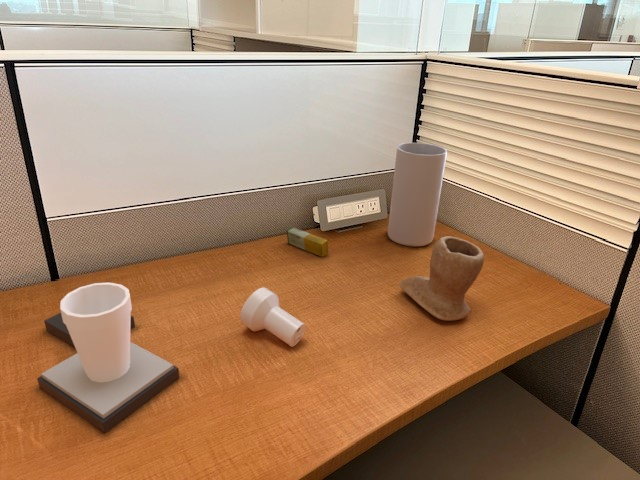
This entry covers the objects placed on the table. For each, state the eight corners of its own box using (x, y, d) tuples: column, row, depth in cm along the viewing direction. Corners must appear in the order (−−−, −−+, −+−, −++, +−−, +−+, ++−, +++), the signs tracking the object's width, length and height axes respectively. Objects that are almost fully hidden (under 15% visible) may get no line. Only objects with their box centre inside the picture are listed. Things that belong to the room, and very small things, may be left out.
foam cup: (61, 382, 73) (44, 310, 67) (100, 345, 81) (88, 278, 75) (117, 395, 71) (104, 322, 65) (151, 356, 79) (142, 288, 73)
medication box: (286, 243, 126) (285, 230, 124) (293, 239, 128) (292, 226, 126) (322, 257, 119) (321, 243, 117) (328, 253, 121) (328, 239, 119)
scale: (39, 388, 75) (35, 374, 74) (116, 342, 86) (113, 329, 85) (104, 433, 68) (101, 418, 67) (179, 377, 79) (178, 363, 77)
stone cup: (485, 317, 98) (500, 252, 92) (437, 329, 94) (449, 261, 87) (440, 282, 111) (450, 222, 104) (396, 291, 106) (404, 229, 100)
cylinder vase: (423, 252, 125) (437, 158, 114) (379, 239, 130) (389, 149, 120) (439, 235, 134) (453, 148, 124) (397, 225, 140) (408, 140, 129)
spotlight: (265, 306, 96) (266, 278, 91) (310, 336, 92) (314, 308, 86) (237, 330, 91) (237, 302, 86) (283, 363, 86) (285, 335, 81)
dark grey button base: (46, 331, 88) (42, 313, 86) (95, 306, 96) (91, 289, 94) (87, 355, 83) (83, 336, 81) (135, 327, 90) (132, 309, 89)
